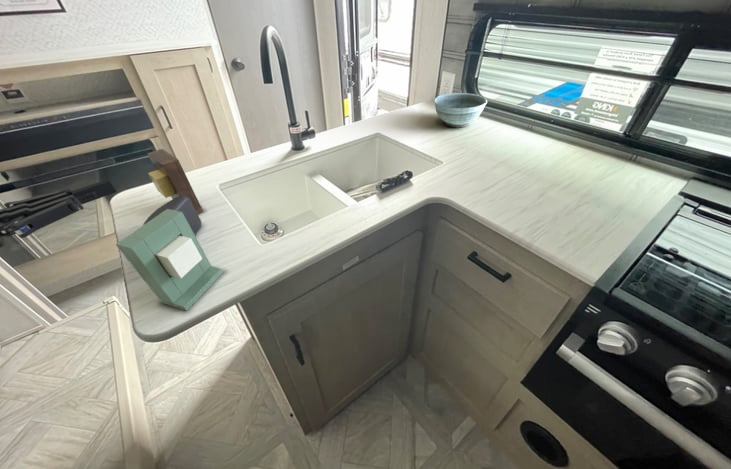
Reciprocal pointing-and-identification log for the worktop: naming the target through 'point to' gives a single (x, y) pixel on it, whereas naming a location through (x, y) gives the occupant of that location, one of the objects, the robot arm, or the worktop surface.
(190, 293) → the pale green angular block
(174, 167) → the brown switch panel
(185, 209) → the leaning round-cornered charcoal block
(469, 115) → the bowl
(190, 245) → the protruding squarish ivory block
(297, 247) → the worktop surface
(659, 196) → the worktop surface
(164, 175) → the brass switch
